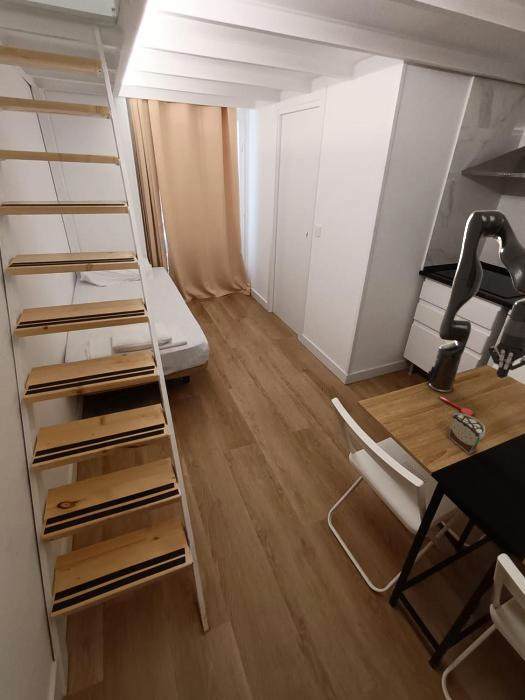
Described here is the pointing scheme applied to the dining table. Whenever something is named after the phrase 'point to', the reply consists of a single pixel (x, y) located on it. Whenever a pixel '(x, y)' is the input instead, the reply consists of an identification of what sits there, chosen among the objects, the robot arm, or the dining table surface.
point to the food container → (466, 431)
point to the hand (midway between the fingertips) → (500, 376)
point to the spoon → (463, 410)
